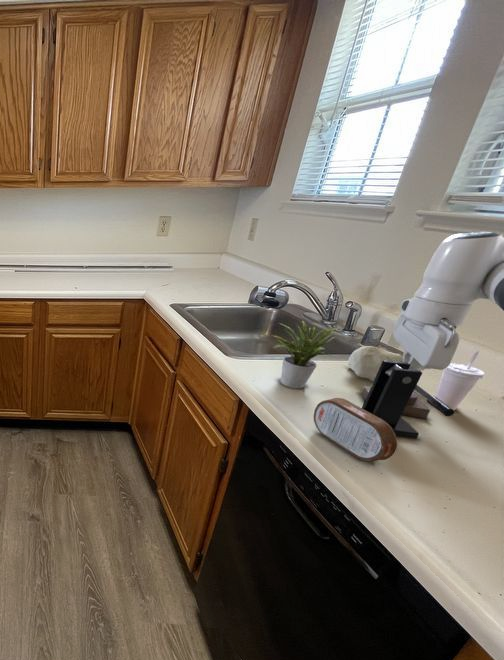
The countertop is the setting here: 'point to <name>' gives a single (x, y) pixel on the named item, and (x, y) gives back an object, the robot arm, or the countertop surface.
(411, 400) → the button block
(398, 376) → the bracket
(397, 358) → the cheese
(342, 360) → the countertop surface
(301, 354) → the house plant
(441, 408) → the lever
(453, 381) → the smoothie
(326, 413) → the tin
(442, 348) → the robot arm
